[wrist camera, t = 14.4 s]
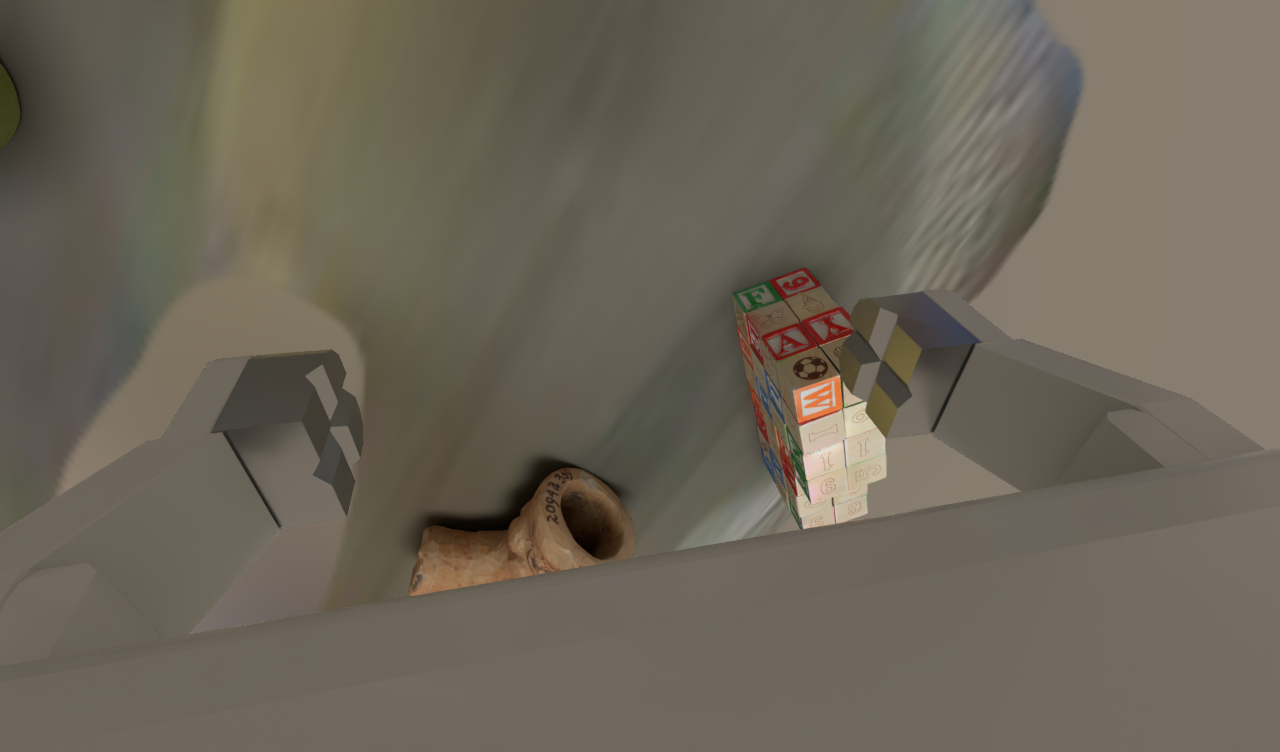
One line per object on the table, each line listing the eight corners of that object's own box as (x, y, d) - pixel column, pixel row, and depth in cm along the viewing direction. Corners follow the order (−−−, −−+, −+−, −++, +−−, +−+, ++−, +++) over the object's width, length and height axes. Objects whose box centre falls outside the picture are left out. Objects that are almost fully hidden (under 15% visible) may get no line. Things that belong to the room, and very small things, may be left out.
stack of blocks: (821, 442, 58) (886, 543, 49) (763, 462, 59) (817, 567, 49) (805, 264, 45) (891, 358, 35) (728, 291, 45) (794, 392, 35)
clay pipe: (595, 516, 64) (644, 455, 53) (605, 618, 58) (662, 574, 47) (413, 515, 57) (425, 445, 46) (404, 630, 51) (414, 582, 40)
